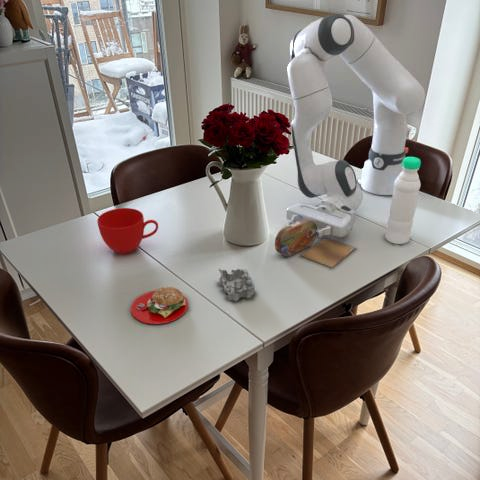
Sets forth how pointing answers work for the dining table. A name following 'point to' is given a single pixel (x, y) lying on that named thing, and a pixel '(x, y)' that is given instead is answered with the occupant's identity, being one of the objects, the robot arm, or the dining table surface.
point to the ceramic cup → (123, 229)
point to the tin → (295, 237)
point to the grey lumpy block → (237, 284)
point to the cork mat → (328, 252)
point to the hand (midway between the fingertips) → (303, 229)
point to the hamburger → (159, 306)
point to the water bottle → (404, 202)
